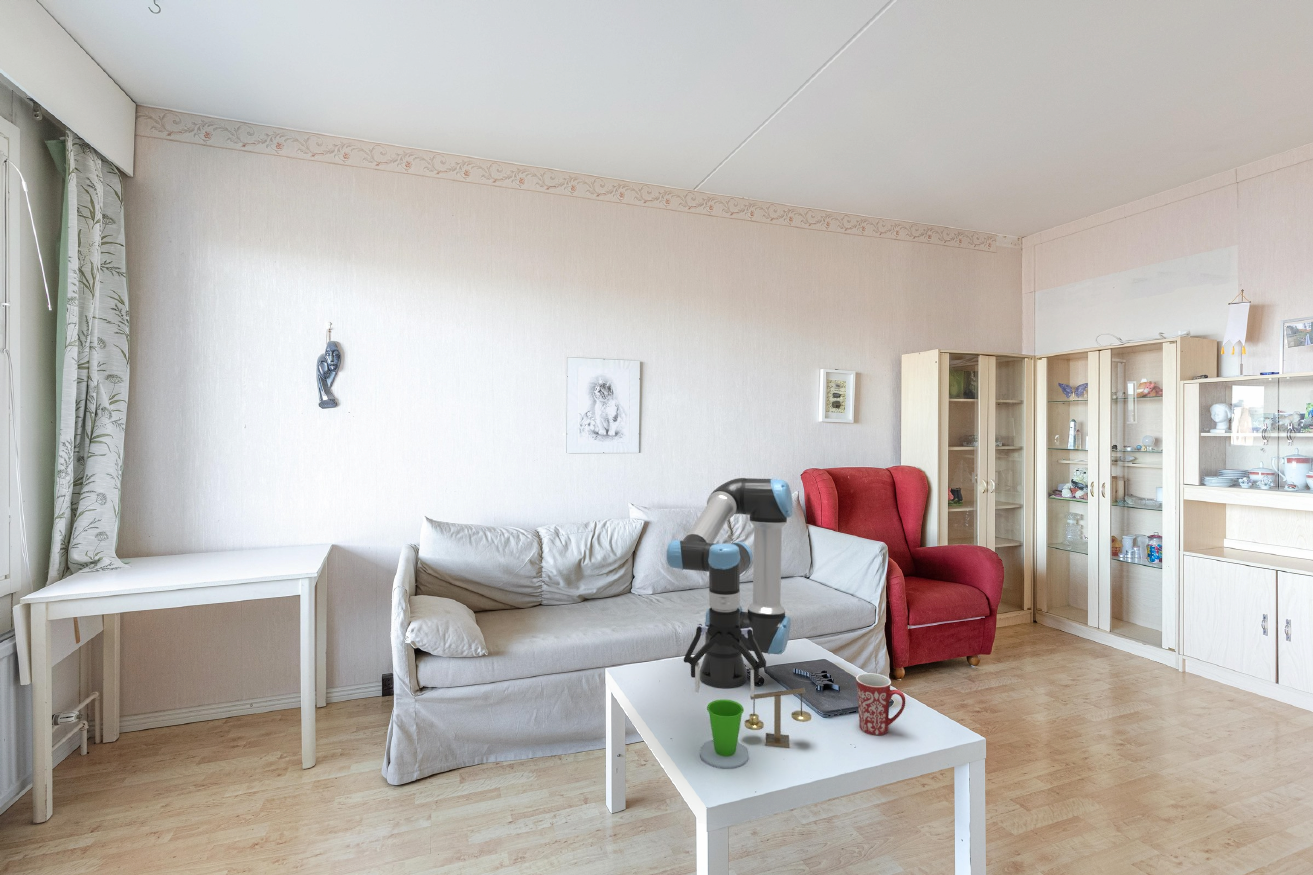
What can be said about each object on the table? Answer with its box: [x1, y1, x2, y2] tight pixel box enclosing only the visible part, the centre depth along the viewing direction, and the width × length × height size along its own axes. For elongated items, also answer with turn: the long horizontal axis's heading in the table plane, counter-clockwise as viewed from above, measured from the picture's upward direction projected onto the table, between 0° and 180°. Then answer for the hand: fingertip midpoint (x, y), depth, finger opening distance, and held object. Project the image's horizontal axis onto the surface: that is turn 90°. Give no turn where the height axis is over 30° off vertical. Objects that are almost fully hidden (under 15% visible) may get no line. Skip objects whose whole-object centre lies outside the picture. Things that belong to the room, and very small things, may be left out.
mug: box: [855, 672, 906, 736], centre depth 167 cm, size 13×9×14 cm
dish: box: [699, 739, 750, 770], centre depth 155 cm, size 12×12×1 cm
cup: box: [706, 699, 744, 757], centre depth 154 cm, size 9×9×11 cm
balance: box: [743, 687, 812, 749], centre depth 161 cm, size 17×5×14 cm, turn 79°
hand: (724, 691), depth 155 cm, fingers open, 13 cm apart
